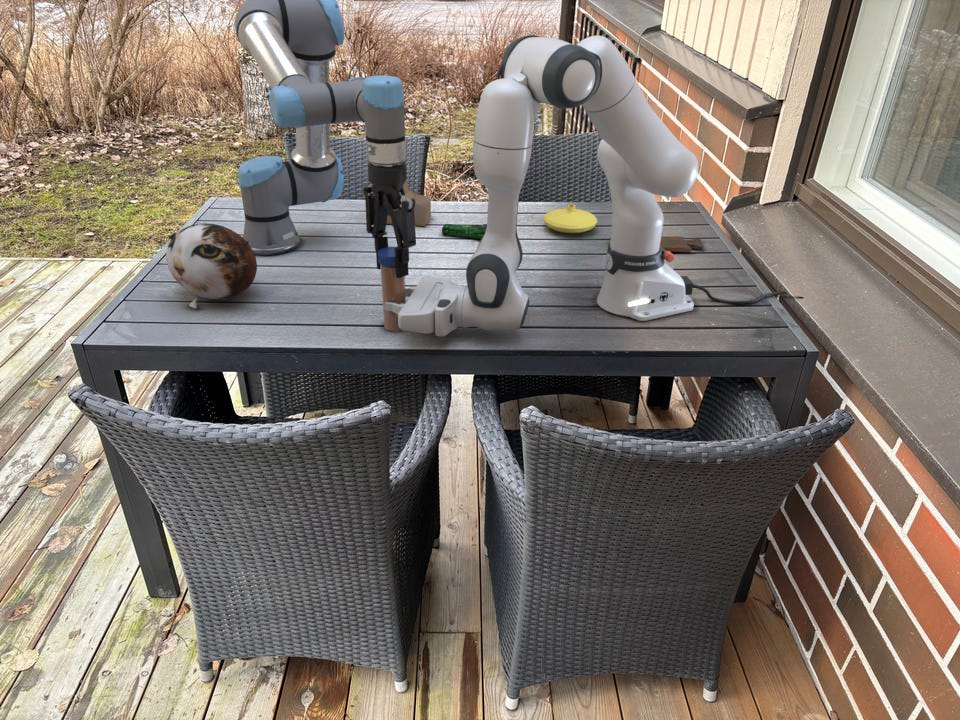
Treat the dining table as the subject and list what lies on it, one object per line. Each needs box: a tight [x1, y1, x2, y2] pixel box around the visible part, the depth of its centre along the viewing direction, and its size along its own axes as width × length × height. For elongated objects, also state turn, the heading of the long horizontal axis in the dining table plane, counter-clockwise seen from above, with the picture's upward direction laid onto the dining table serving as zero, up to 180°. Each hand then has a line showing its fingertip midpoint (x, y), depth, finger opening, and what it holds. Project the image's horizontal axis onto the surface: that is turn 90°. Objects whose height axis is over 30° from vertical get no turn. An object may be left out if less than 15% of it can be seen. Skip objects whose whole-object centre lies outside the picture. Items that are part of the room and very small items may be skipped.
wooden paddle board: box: [609, 235, 704, 253], centre depth 200 cm, size 26×2×10 cm
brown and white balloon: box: [165, 222, 258, 309], centre depth 165 cm, size 22×18×20 cm
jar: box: [380, 264, 407, 332], centre depth 153 cm, size 5×5×17 cm
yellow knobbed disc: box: [543, 203, 598, 234], centre depth 209 cm, size 16×16×7 cm
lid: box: [378, 246, 396, 267], centre depth 149 cm, size 6×6×2 cm
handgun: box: [441, 223, 487, 241], centre depth 207 cm, size 16×3×15 cm
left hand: (392, 271), depth 151 cm, fingers closed on lid, 6 cm apart
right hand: (390, 298), depth 154 cm, fingers closed on jar, 5 cm apart
